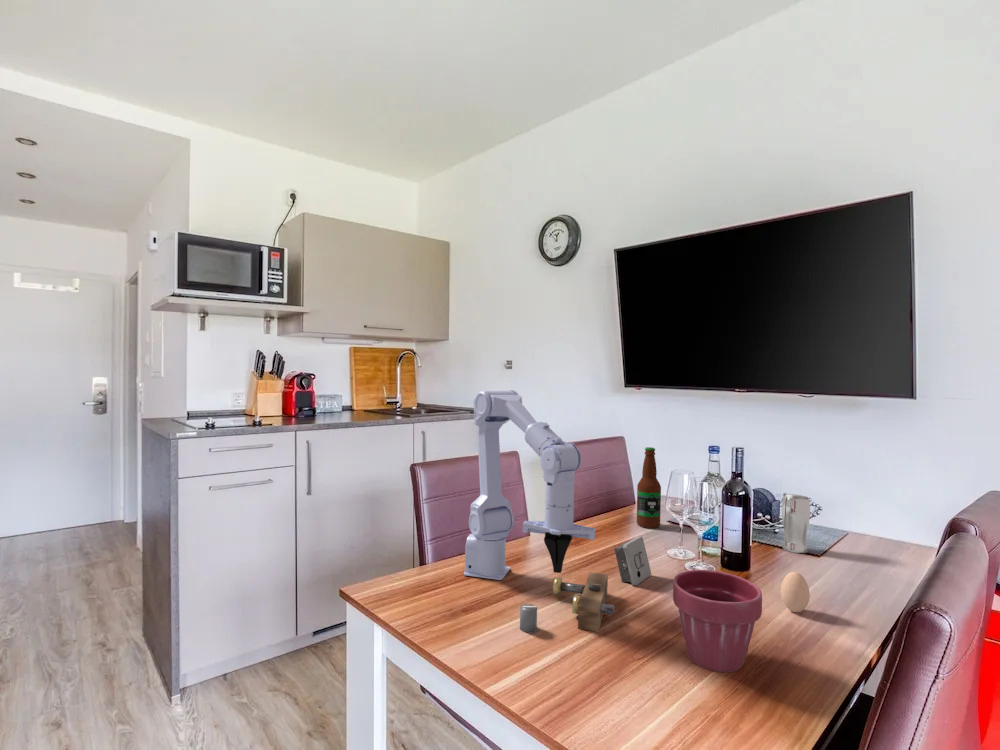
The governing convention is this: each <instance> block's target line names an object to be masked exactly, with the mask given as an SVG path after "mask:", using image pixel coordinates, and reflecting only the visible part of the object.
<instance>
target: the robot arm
mask: <svg viewBox="0 0 1000 750" xmlns="http://www.w3.org/2000/svg"><path fill="white" fill-rule="evenodd" d="M473 420H474V425H475V426H477V427H476V429H477V445H478V447H477V449H478V470H479V471H478V472H479V473H478V475H479V490H480V491H479V493H480V494H479V496H478V497H477V498H476V499H475V500H474V501H473V502H471V504H470V514H469V517H468V526H469V531H470V532H471V533H469V535H468V536H467V537H466V541H465V542H466V543H465V548H464V549H465V550H464V571H463V575H464V576H469V577H475V578H476V577H477V578H483V579H488V580H497V581H502V580H503V579H504V578H505V576H506V575H507V574H508V572H509V571H510V569H511V567H510V566H508V565H506V556H507V555H506V553H507V537H509V536H510V533H509V532H511V531H512V530H513V528H514V525H515V517H514V513H513V510H512V506H511V505H512V504H511V503H512V502H511V501H510V500H509V499H508V498H506V497H505V496H504V495H503V491H502V490H503V489H502V486H503V485H502V472H501V471H502V469H501V448H500V447H501V446H500V430H501V428H502V426H504V424H507V423H508V422H509V421H511V422H512V423H513V424H514V425H516V426H517V428H518V429H520V430H521V431H522V432H523V433H524V440H525V443H527V444H528V446H529V447H530V448H531V449H532V450H533V451H534V452H535V454H536V455H537V456H538V457H539V462H540V466H541V470H542V473H543V475H542V476H543V480H544V482H545V501H544V502H545V504H544V521H543V520H541V521H540V520H535V521H534V520H532V521H531V520H525V521H523V523H522V533H525V534H528V533H533V534H544V538H543V542H544V544H545V546H546V549H547V551H548V553H549V556H550V560H551V564H552V569H553V573H557V574H561V573H562V571H563V565H564V560H565V556H566V554H567V551H568V549H569V546H570V544H571V541H572V539H573V538H579V539H588V540H589V541H595V540H596V537H597V536H596V532H597V530H596V529H597V528H596V527H591V526H585V525H581V524H580V525H579V524H575V523H574V509H575V508H574V507H575V506H574V505H575V473H576V471H577V470H579V469H580V467H581V464H582V455H581V452H580V449H579V448H578V446H577V445H576V443H574V442H567V441H563V439H562V438H561V436H559V435H557V433H555V431H553V430H552V429H551V428H550V425H549V423H547V422H543V421H537V420H536V419H535V418H534V417H533V415H532V414H531V413H530V411H529V410H527V408H526V407H525V406H524V404H523V398H522V396H521V395H519V393H518V392H517V391H516V390H513V389H510V390H483V389H482V390H480V391H478V393H477V394H476V396H475V398H474V399H473Z"/></svg>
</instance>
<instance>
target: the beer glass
mask: <svg viewBox="0 0 1000 750" xmlns="http://www.w3.org/2000/svg"><path fill="white" fill-rule="evenodd" d="M781 505H782V506H781V516H782V518H781V520H782V524H783V530H784V539H783V544H782V549H783V550H784V551H786V552H788V553H789V552H790V553H793V554H794V553H795V554H807V553H808V547H807V535H808V534H807V533H808V529H809V524H810V519H811V518H810V517H811V503H810V497H808V496H807V495H806V496H805V495H802V494H795V493H787V494H783V495H782V503H781Z"/></svg>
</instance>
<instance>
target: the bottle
mask: <svg viewBox="0 0 1000 750" xmlns="http://www.w3.org/2000/svg"><path fill="white" fill-rule="evenodd" d="M644 450H645V452H644V460H643V464H642V473H641V475H642V476H641V478H640V480H639V482H638V483H637V488H636V490H637V491H636V492H637V495H636V524H637V525H638V526H639V527H641V528H643V529H651V530H652V529H657V528H660V526H661V508H662V507H661V505H662V504H661V503H662V486H661V483H660V482H659V480H658V479H657V474H658V473H657V463H656V457H655V455H656V453H655V452H656V448H655V447H645V448H644Z"/></svg>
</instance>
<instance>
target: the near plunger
mask: <svg viewBox="0 0 1000 750" xmlns="http://www.w3.org/2000/svg"><path fill="white" fill-rule="evenodd" d="M581 597H582V595H575V594H574V595H573V596H572V605H571V606H572V607H571V610H572V612H571V613H572V614H575V615H578V606H579V603H580V600H581ZM615 607H616V606H615V604H608V603H605V604H602V605H601V613H603V615H610V616H611V615H612V616H614V615H615V609H616V608H615Z"/></svg>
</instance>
